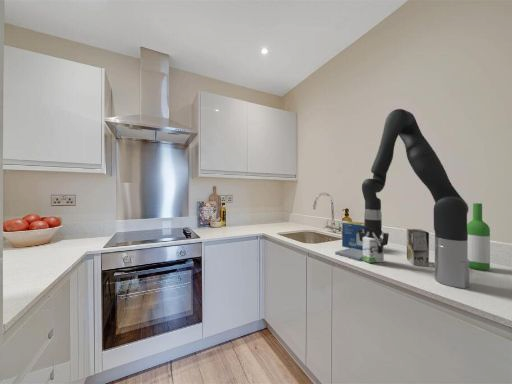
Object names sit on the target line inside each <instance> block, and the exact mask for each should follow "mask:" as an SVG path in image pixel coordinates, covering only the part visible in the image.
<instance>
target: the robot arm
mask: <svg viewBox="0 0 512 384" xmlns="http://www.w3.org/2000/svg"><path fill="white" fill-rule="evenodd" d="M383 125H384V126H383V131H382V136H381V139H380V144H379V146H378V150H377V153H376V156H375V158H374V160H373V164H372V166H371V168H370V169H371V170H370V172H371V173H372V174H373V175H372V178H366V179H364V180H363V181H362V183H361V184H362V185H361V191H362V195H363V198H364V214H363V215H364V216H363V217H364V221H363V223H364V226H365V229H364V230H363V229H360V230H359V239H360V241H362V242H363V237H364V232H365V234H366V236H365V237H369V238H374V239H375V240H376V242H377V243H378V245H379V246H378V253H379V254H381V253H382V252H383V246H388V242H389V236H390V234H389V232H383V230H382V228H383V227H382V225H383V224H382V220H383V219H382V215H383V214H382V201H381V199H380V198H379V197H378V196H377V193H381V192H382V190H384V188H385V186H386V180H387V173H388V171H389V170H390V166H391V164H392V162H393V158H394V154H395V153H394V152H395V145H396V142H397V139H398V137H400V139H401V140H402V143H403V144H404V147H405V148H404V149H405V153H406V158H407V161H408V163H409V165H410V166H411V168H412V170H413V172H414V174H415V175H416V176H417V177H418V179H419V180H420V181H421V182H422V183H423V185H424V186H425V187H426V189H428V190H429V192H430V194H431V196H432V198H433V201H434V206H433V231H434V280H435V281H436V282H438V283H439V284H441V285H442V284H443V285H445V286H450V287H453V288H454V287H455V288H460V289H467V288H468V287H469V285H470V268H469V260H468V232H467V224H468V214H469V205H468V203H467V202H466V201H465V200H464V199H463V197H462V196H461V195H460V194H459V192H458V191H457V190H456V188H455V187H454V186H453V184H452V182H451V180H450V179H449V176H448V174H447V172H446V170H445V167H444V166H443V163H442V161H441V160H440V158H439V157H438V155H437V153H436V151H435V150H434V149H433V147H432V145H430V144H431V143H429V142H428V140H427V139H426V138H425V136H424V135H423V134H422V131H421V130H420V127H419V125H418V122H417V120H416V118H415V116H414V114H413V113H412V112H410V111H408V110H406V109H402V108H397V109H394V110H391V112H389V114H387V117H386V118H385V121H384V124H383ZM381 236H382V237H381ZM378 238H379V239H378ZM381 238H383V242H382V239H381Z"/></svg>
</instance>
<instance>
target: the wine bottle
mask: <svg viewBox="0 0 512 384" xmlns="http://www.w3.org/2000/svg"><path fill="white" fill-rule="evenodd" d="M490 228H491V227H489V225H488V224H487V223H486V222H485V221H483V204H482V203H479V202H476V203H475V202H474V203H472V219H471V221H469V222H467V232H468V260H469V269H473V270H477V271H489V270H490V269H491V233H490V232H491V229H490Z"/></svg>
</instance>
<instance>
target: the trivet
mask: <svg viewBox="0 0 512 384" xmlns="http://www.w3.org/2000/svg"><path fill="white" fill-rule="evenodd" d="M334 253H335V255H337V256H340V257H344V258H347V259H351V260H354V261H357V262H361V261H364V260H363V250H359V249H355V248H345V249H341V250H338V251H337V250H336V251H335V252H334Z"/></svg>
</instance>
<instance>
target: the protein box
mask: <svg viewBox="0 0 512 384" xmlns="http://www.w3.org/2000/svg"><path fill="white" fill-rule="evenodd" d="M341 226H342V228H341V231H342V232H341V233H342V234H341V247H344V248H347V249H349V248H355V249H359V250H363V242H362V241H360V239H359V230H360V229H363V230H364V229H365V226H364V222H359V221H354V220H353V221H351V220H348V221H344V222H342V223H341ZM365 236H366V234H365V232H364V237H365Z"/></svg>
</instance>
